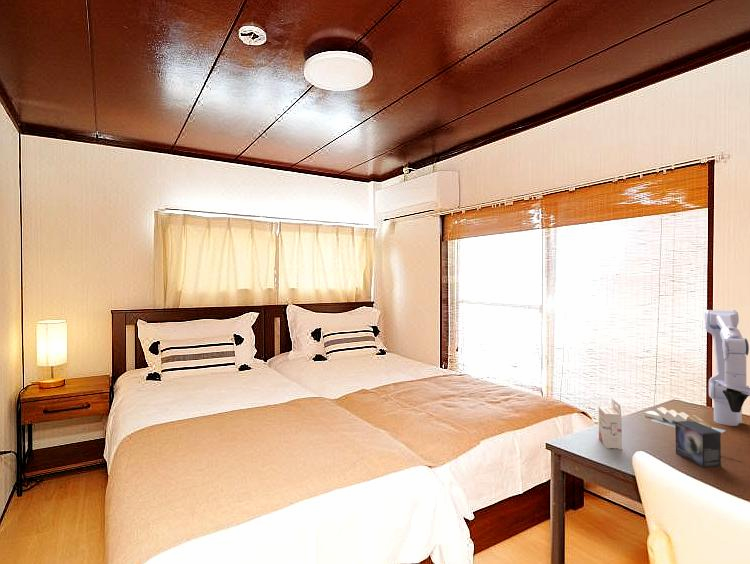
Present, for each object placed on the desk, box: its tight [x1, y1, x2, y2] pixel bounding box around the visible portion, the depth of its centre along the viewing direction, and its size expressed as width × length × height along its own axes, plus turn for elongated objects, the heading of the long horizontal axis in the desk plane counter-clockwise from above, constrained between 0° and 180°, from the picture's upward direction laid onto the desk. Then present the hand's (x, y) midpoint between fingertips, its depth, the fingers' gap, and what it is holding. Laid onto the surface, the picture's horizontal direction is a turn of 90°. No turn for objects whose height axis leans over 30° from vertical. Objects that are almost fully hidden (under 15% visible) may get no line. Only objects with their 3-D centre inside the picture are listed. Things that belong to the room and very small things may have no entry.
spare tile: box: [686, 414, 713, 428], centre depth 153 cm, size 4×2×6 cm
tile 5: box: [644, 410, 666, 421], centre depth 166 cm, size 4×2×6 cm
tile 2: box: [675, 411, 690, 421], centre depth 157 cm, size 4×2×6 cm
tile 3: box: [665, 409, 680, 422], centre depth 160 cm, size 4×2×6 cm
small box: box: [674, 421, 722, 468], centre depth 130 cm, size 11×6×10 cm, turn 5°
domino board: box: [649, 418, 727, 434], centre depth 157 cm, size 12×20×1 cm, turn 30°
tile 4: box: [654, 406, 675, 423], centre depth 163 cm, size 4×2×6 cm
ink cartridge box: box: [598, 398, 623, 450], centre depth 143 cm, size 9×5×15 cm, turn 168°
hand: (735, 411), depth 146 cm, fingers closed
